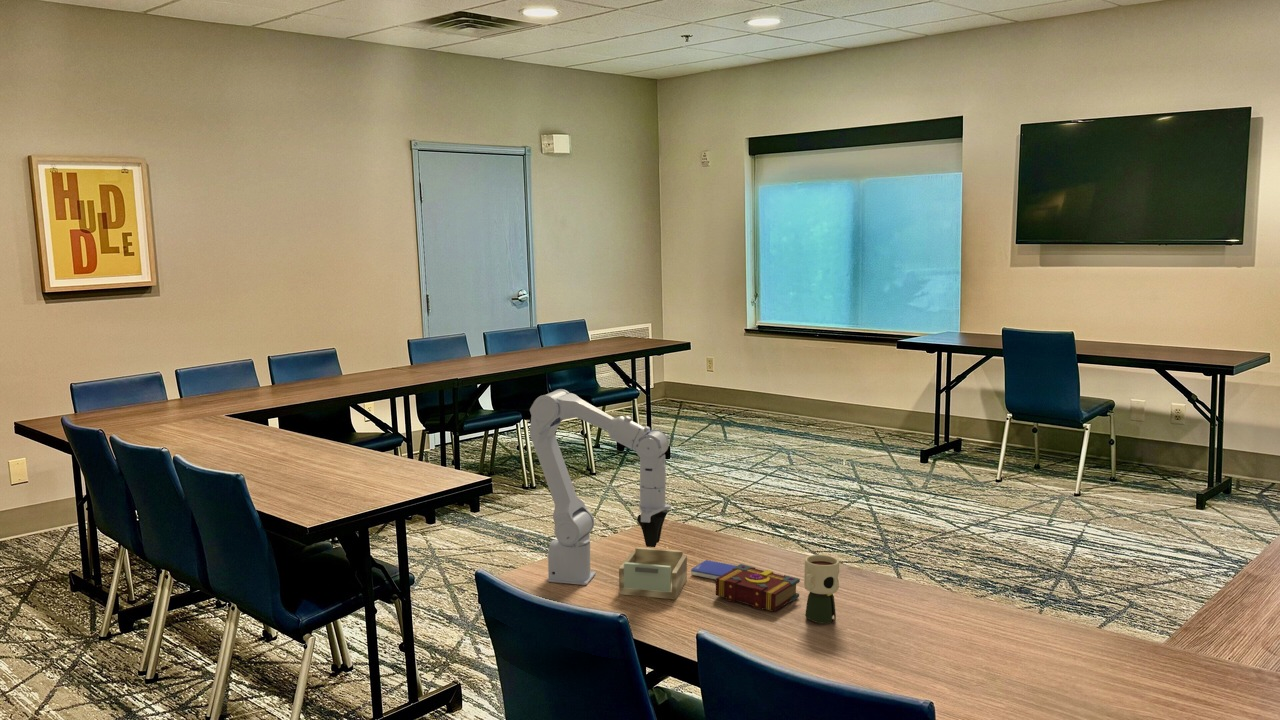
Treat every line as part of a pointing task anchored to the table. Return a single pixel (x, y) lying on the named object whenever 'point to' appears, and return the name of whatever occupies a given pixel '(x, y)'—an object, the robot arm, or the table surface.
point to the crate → (657, 558)
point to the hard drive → (711, 569)
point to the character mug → (821, 587)
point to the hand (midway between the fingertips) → (652, 544)
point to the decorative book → (757, 587)
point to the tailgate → (647, 576)
